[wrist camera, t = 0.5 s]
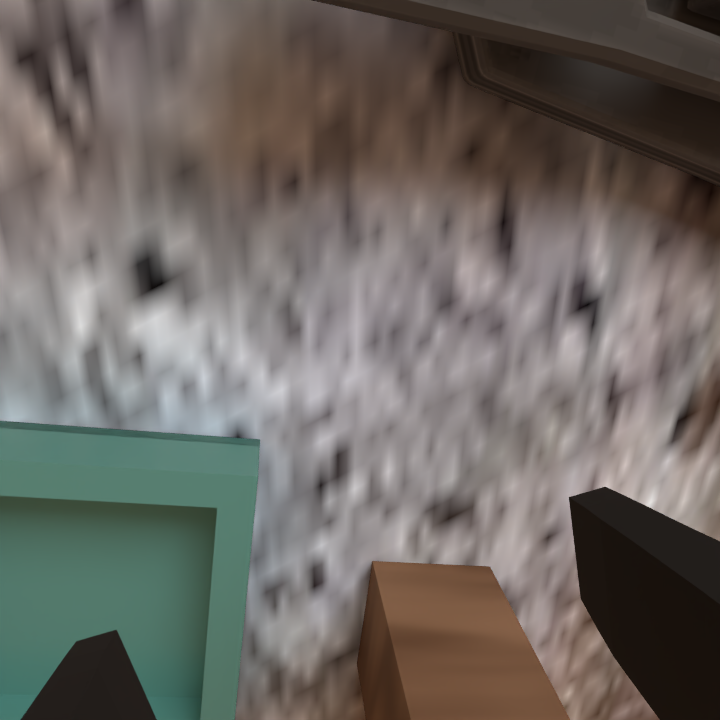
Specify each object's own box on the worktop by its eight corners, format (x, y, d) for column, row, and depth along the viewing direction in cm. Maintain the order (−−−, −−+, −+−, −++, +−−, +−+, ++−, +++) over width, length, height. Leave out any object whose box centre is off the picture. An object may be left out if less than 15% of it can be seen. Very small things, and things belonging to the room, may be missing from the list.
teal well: (233, 711, 23) (229, 774, 21) (-85, 706, 22) (-128, 774, 20) (259, 439, 21) (258, 476, 18) (-101, 413, 19) (-153, 450, 17)
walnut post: (469, 666, 24) (544, 861, 17) (356, 663, 24) (389, 864, 17) (489, 566, 23) (577, 734, 16) (372, 561, 22) (413, 732, 16)
